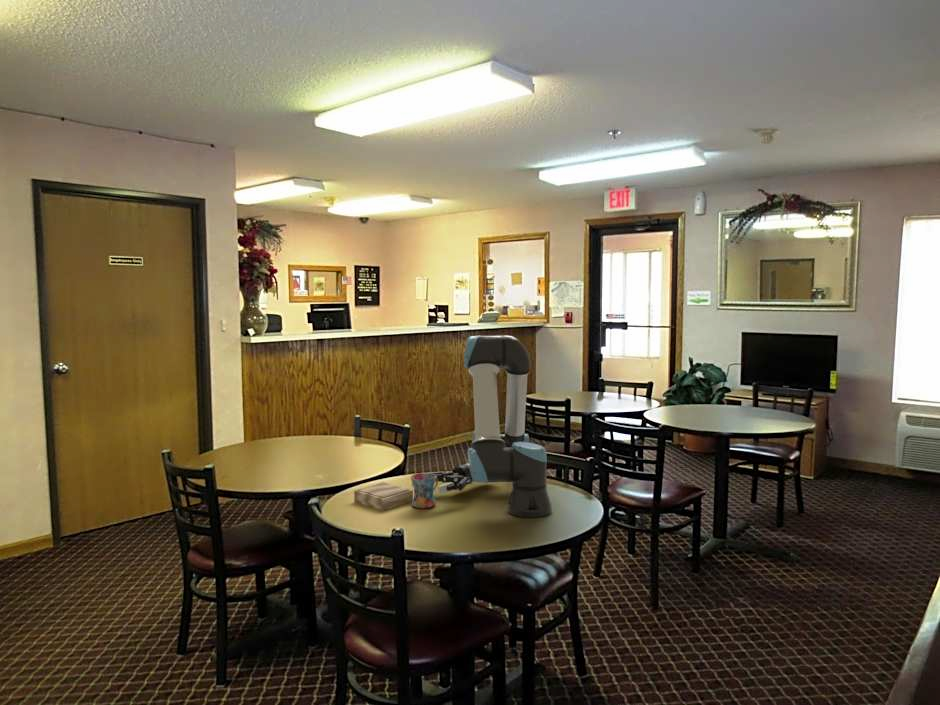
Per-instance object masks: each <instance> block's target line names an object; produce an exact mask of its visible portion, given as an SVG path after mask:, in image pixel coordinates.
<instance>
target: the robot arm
mask: <svg viewBox="0 0 940 705" xmlns="http://www.w3.org/2000/svg"><path fill="white" fill-rule="evenodd" d="M463 361H464V362H463V367H464V368H466V369H467V371H468V374H469V375H470V376H472V386H473V387H472V391H473V409H474V410H473V412H474V413H473V414H474V415H473V416H474V430H473V432H472V440H471V447H469V448H468V449H467V461H468V462H466V463H464V464H461V465H458V466H455V467H454V468H453V470H452V471H448V472H446V470H442V471H436V472H430V473H431V474H435V475H436V476H437V478H438V483H440V482H441V483H444V484H441V485H438V495H442V494H444V493H445V494H446V493H449V492H451V491H457V490H458V491H463V490H464V489H465V487H467V486H468V485H472V484H474V483H484V484H488V483H512V488H511V492H510V496H509V498H508V501H507V512H508V513H509V514H511V515H513V516H514V517H515V516H516V517H521V518H533V519H534V518H542V517H546V516H548V515H551V513H552V512H553V511H552V510H553V509H552V503H551V499H550V496H549V493H548V490H547V462H548V460H547V458H548V457H547V450H546V448H545V447H544V446H542V445H539V444H537V443H532V442H530V437H529V434H528V433H525V429H526V428H525V427H526V408H527V391H528V390H527V389H528V388H527V387H528V375H529V374H530V373H531V368H532V367H531V358H530V354H529V352H528V350H527V348H526V347H525V345H524V344H523V343H522V342H521V341H520V340H519V339H518V338H516V337H514V336H512V335H507V334H504V335H480V334H479V335H472V336H471V335H470V336H469V337H467V339H466V342H465V352H464V360H463ZM501 368H504V371H505V373H506V374H507V376H506V401H505V402H506V403H505V424H504V425H505V427H504V433H501V430H500V414H499V399H498V398H499V396H498V382H497V381H498V380H497V375H498V374H499V373H500V371H501ZM436 481H437V479H436V480H435V483H436ZM411 487H412V488H414V486H413V483H412V482H411Z"/></svg>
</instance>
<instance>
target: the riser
mask: <svg viewBox="0 0 940 705" xmlns="http://www.w3.org/2000/svg"><path fill="white" fill-rule="evenodd" d="M353 491H354V492H353V493H354V494H353V495H354V496H353V498H354V499H353V500H354V502H355V503H358V504H360V505H361V504H362V505H364V506H369V507H370V508H374V509H378V510H381V511H387V510H389V509H392V508H393V509H394V508H395V507H399V506H401V505H404V504H408V503H412V502H413V499H414V489H410V488H406V487H402V486H398V485H395V484H391V483H387V482H384V481H383V482H380V483H376V484H373V485H370V486H366V487H363V488H359V489H355V490H353Z"/></svg>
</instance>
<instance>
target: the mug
mask: <svg viewBox="0 0 940 705" xmlns="http://www.w3.org/2000/svg"><path fill="white" fill-rule="evenodd" d="M431 473H432V472H420V473H413V475H410V477H409V478H410V480H411V484H412V483H413V486H414V487H413V501H411V506H413V507H415V508H419V509H428V508H432V507H435V505H436V504H437V502H436V499H435V497H434V491H436V490H435V489H436V488H437V487H438V483H439V482H438V478H437V476H436V475H435V474H431ZM436 479H437V481H436V482H435V480H436Z"/></svg>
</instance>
